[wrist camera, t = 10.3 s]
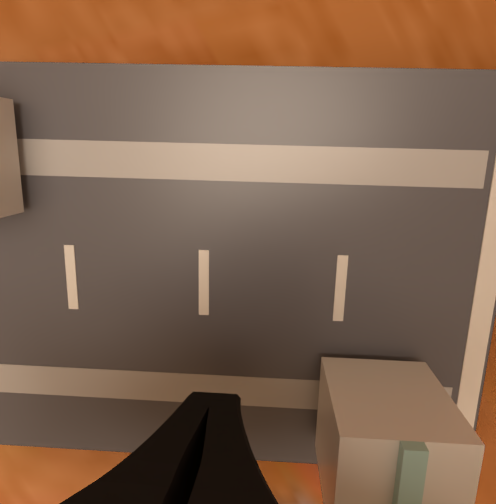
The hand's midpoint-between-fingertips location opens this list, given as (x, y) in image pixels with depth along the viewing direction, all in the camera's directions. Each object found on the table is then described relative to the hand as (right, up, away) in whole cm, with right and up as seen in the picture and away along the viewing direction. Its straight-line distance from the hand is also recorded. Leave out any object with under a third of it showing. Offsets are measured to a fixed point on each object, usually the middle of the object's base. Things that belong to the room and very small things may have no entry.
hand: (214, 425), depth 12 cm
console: (0, +4, +2) cm, 5 cm away
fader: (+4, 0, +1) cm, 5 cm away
